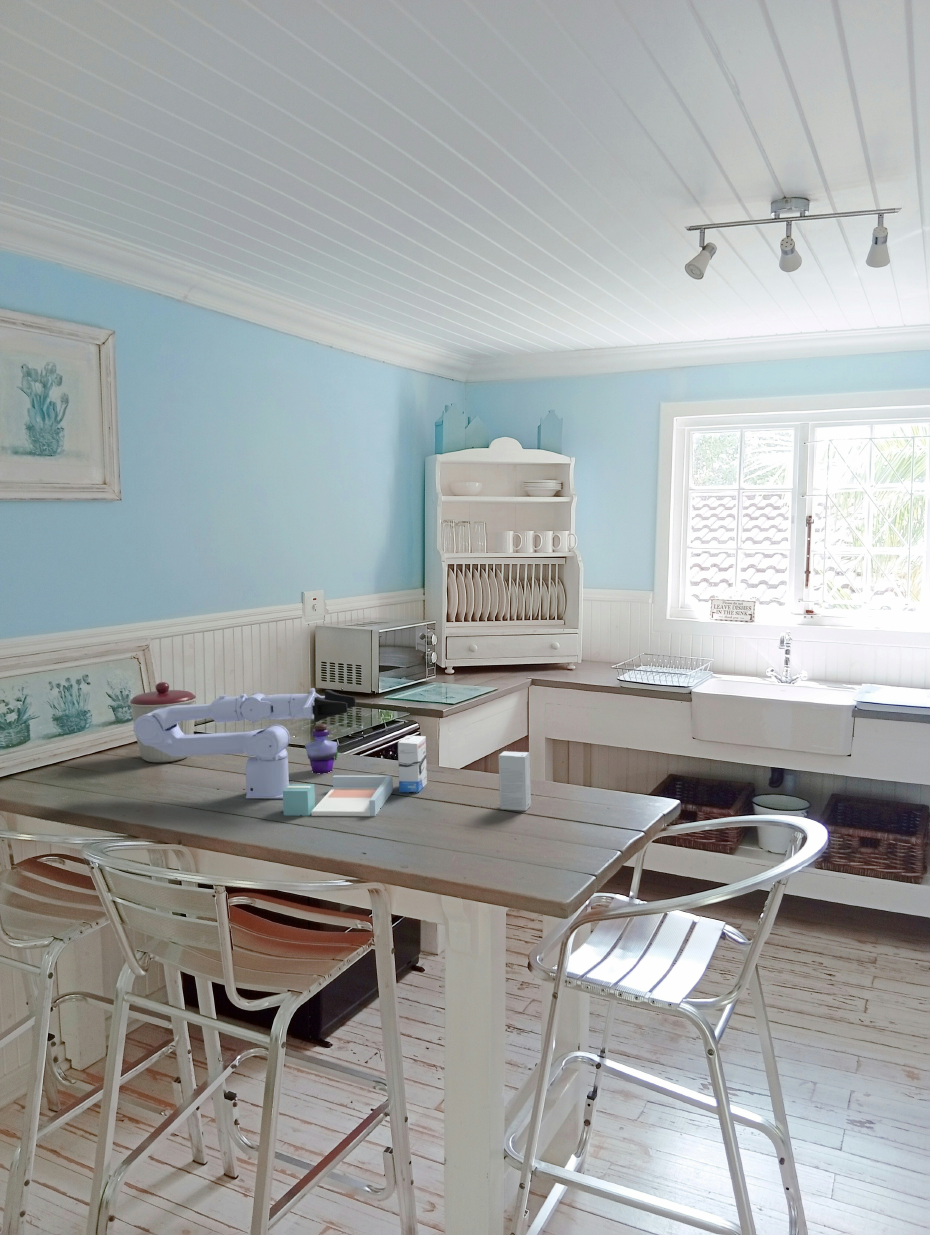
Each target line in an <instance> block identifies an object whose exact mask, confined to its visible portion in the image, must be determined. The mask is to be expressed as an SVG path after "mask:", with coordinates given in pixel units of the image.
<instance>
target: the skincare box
mask: <svg viewBox="0 0 930 1235" xmlns="http://www.w3.org/2000/svg"><path fill="white" fill-rule="evenodd" d="M497 757H498V758H497V760H498V781H499V782H498V783H499V784H498V785H499V787H498V788H499V809H500V810H507V811H509V810H510V811H521V812H523V811H524V812H525V811H528V809H529V808H530V807H531V806H532V798H531V797H532V795H531V792H532V791H531V790H532V788H531V769H530V768H531V766H530V765H531V764H530V763H531V762H530V761H531V760H530V752H529V751H528V752H527V751H507V750H506V751H505V750H504V751H502V752H501V753H500V754H498V756H497Z"/></svg>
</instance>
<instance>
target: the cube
mask: <svg viewBox="0 0 930 1235" xmlns="http://www.w3.org/2000/svg"><path fill="white" fill-rule="evenodd" d="M315 792H316V790H315V783H289V785H288V786H287V787H286V788H285V789H284V790H283V799H282V803H283V816H299V817H301V816H300V815H302V817H303V816H305V817H306V816H310V815H311V814H312V812H311V811H312V810H313V809H314V808H315V807H316V793H315Z"/></svg>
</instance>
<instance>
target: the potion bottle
mask: <svg viewBox="0 0 930 1235" xmlns="http://www.w3.org/2000/svg"><path fill="white" fill-rule="evenodd" d="M313 728H314V729H311V730H312V731H311V732H312V734H311V735H312V737H315V738H314V739H315V740H314V741H312V742H309V743H308V742H307V743H305V750H306V755H307V758H308V760H309V762H310V763H309V764H310V768H311V772H312V771H313V773H312V774H316V775H318V774H317V773H320V774H319V775H324V774H323V773H327V774H329V773H328V772H330V771H333V768H334V763H335V762H334V761H336V760H337V759H338V754H339V753H338V742H337V741H331V740H327V737H329V735H330V730H329V728H327V724H325V723H323V724H322V723H319V724H315V725H314V726H313ZM333 772H334V771H333ZM330 773H331V772H330Z"/></svg>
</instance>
